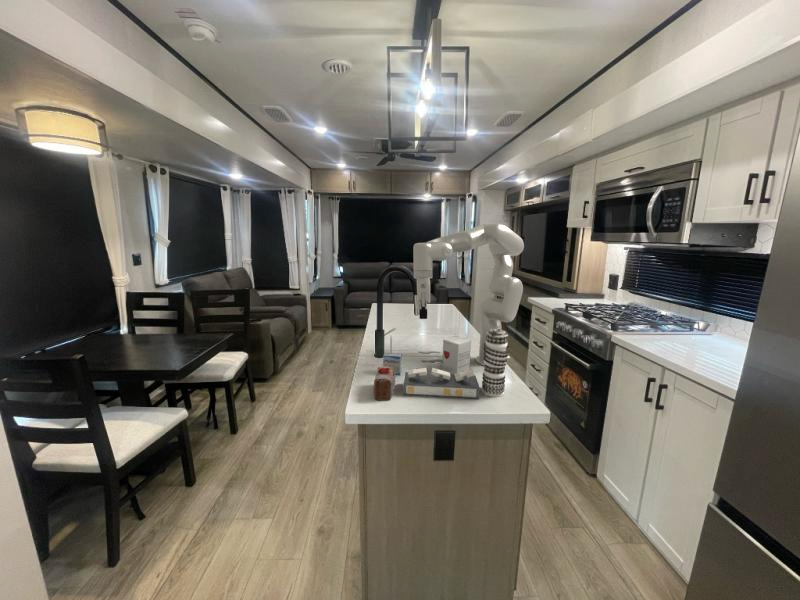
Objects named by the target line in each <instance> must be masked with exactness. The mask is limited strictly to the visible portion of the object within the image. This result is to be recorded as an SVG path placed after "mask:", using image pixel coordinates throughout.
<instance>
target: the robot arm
mask: <svg viewBox="0 0 800 600" xmlns="http://www.w3.org/2000/svg"><path fill="white" fill-rule="evenodd" d="M484 245H488V250H489V251H490V253H491V256H492V257H493V261H494V267H493V270H492V274H491V276H490V282H489V285H488V290H489V292H490V293H491V295H494V296H498V297H502V298H503V299H501V298H498V297H497V298H496V297H491V296H490V297H486V298H483V299H482V301H480V304H479V314H480V335H479V348H478V350H479V352H478V356H476V357H475V362H476V363H477V364H478V365H481V366H485V364H484V357H483V356H484V354H483V353H484V343H485V342H486V336H487V334H486V332H488V331H489V330H490V329H492V328H498V329H502V327H503V326H502V322H503V323H510V322H512V321H513V320H514V319H515V317H516V316H517V314H518V310H519V306H520V303H521V299H522V296H523V292H524V286H523V282H522V281H521V279H519V278H517V277H516V276H514V277H513V276H512V275H513V271H514V262H513V259H512V257H517V256H519V255H521V253H523V251H524V250H525V249H524V248H525V243H524V239H522V237H520V236H519V234H517V233H515V232H514V231H513V230H511V228H509V227H508V226H507V225H505V224H503V223H486V224H480V225H477V226H474V227H472V228H470V229H465V230H463V231H461V232H460V231H459V232H456V233H453V234H449V235H445V236H440V237H437V238H434V239H432V240H428V241H426V242H417V243H414V244H413V278H414V279H416V295H417V296H416V297H417V303H418V304H419V311H418V312H419V317H418V318H419V320H427V319H428V308H427V307H428V304H431V280H430V279H433V261H440V262H442V261H443V262H444V261H447V260H449V259H450V258H451V257H452V256H453V254H454V253H464V252H468V251H471V250H474V249H477V248H479V247H482V246H484ZM485 354H486V353H485ZM505 359H507V361H510V360H511V357H510V356H509V355H508V356H507V357H505Z"/></svg>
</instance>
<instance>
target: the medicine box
mask: <svg viewBox="0 0 800 600" xmlns="http://www.w3.org/2000/svg"><path fill="white" fill-rule="evenodd" d="M383 366H386V367H390V368H392V369H393V371H395V376H401V374H402V371H403V369H402V368H403V353H397V352H384V354H383V356H382V367H383Z"/></svg>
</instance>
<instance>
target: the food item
mask: <svg viewBox="0 0 800 600" xmlns="http://www.w3.org/2000/svg"><path fill="white" fill-rule="evenodd" d="M395 384H396V375H395V371H393V369H392V368H390V367H386V366H383V365H382V366H378V367H377V370H376V372H375V378H374V381H373V396H374V399H375V400H376V401H391V400H392V396H393V394H394V388H395Z"/></svg>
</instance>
